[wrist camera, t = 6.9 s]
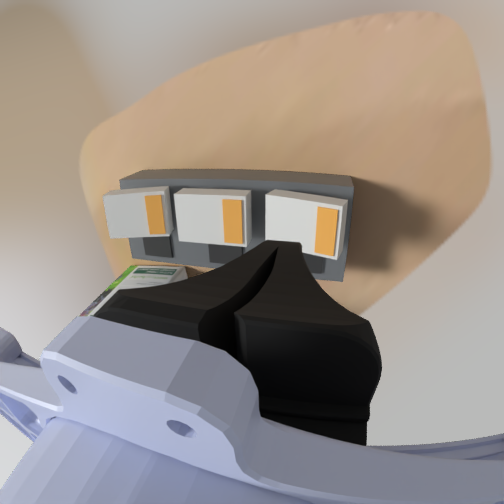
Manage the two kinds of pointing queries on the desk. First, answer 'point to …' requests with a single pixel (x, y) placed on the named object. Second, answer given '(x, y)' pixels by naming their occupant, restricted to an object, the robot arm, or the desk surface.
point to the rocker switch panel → (259, 185)
